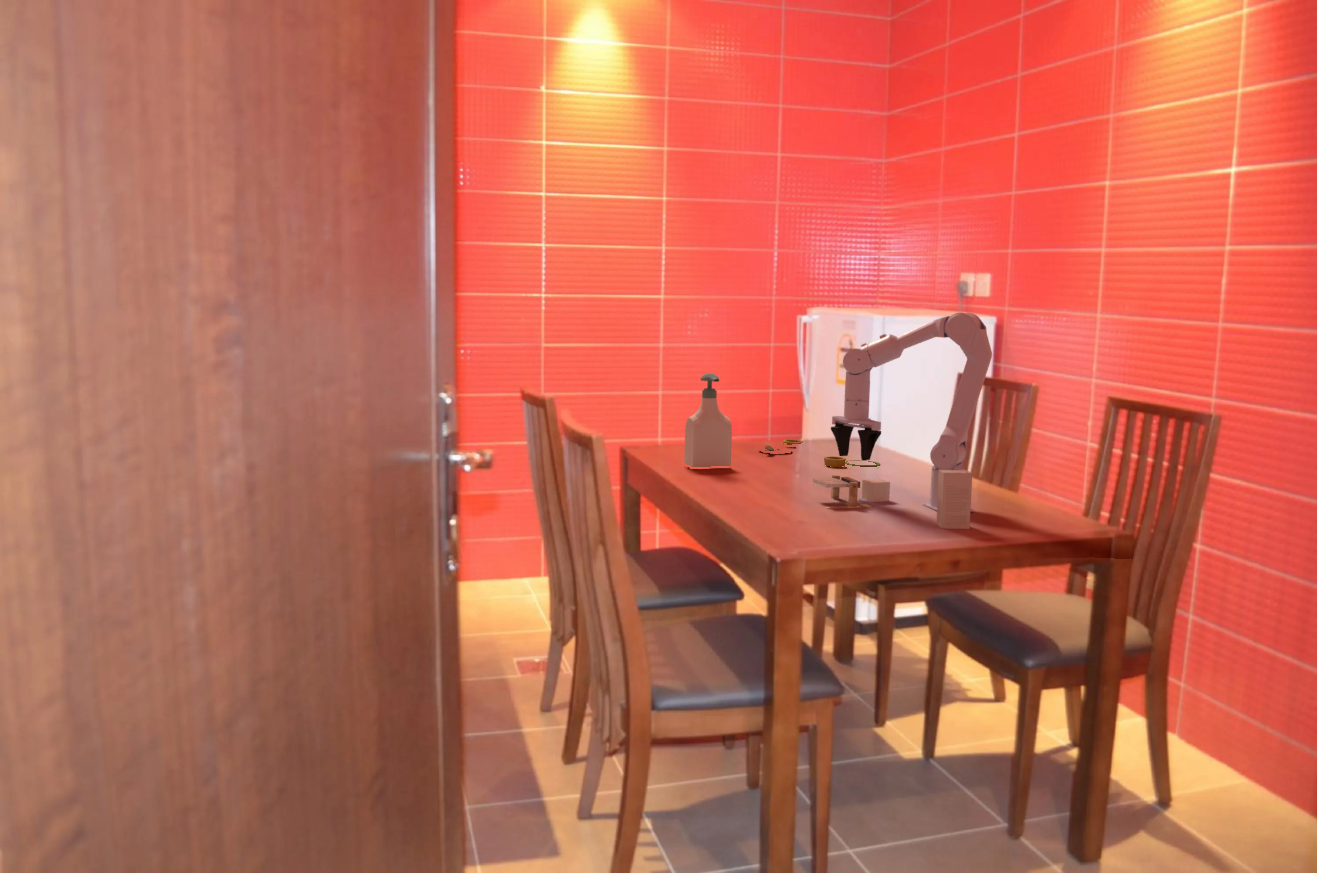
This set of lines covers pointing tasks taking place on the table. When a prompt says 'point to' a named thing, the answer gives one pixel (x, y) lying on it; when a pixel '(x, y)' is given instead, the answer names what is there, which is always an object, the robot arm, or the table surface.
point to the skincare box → (954, 499)
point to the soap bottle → (708, 431)
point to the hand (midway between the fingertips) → (854, 457)
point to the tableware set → (828, 460)
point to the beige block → (875, 490)
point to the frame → (852, 495)
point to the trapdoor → (835, 482)
